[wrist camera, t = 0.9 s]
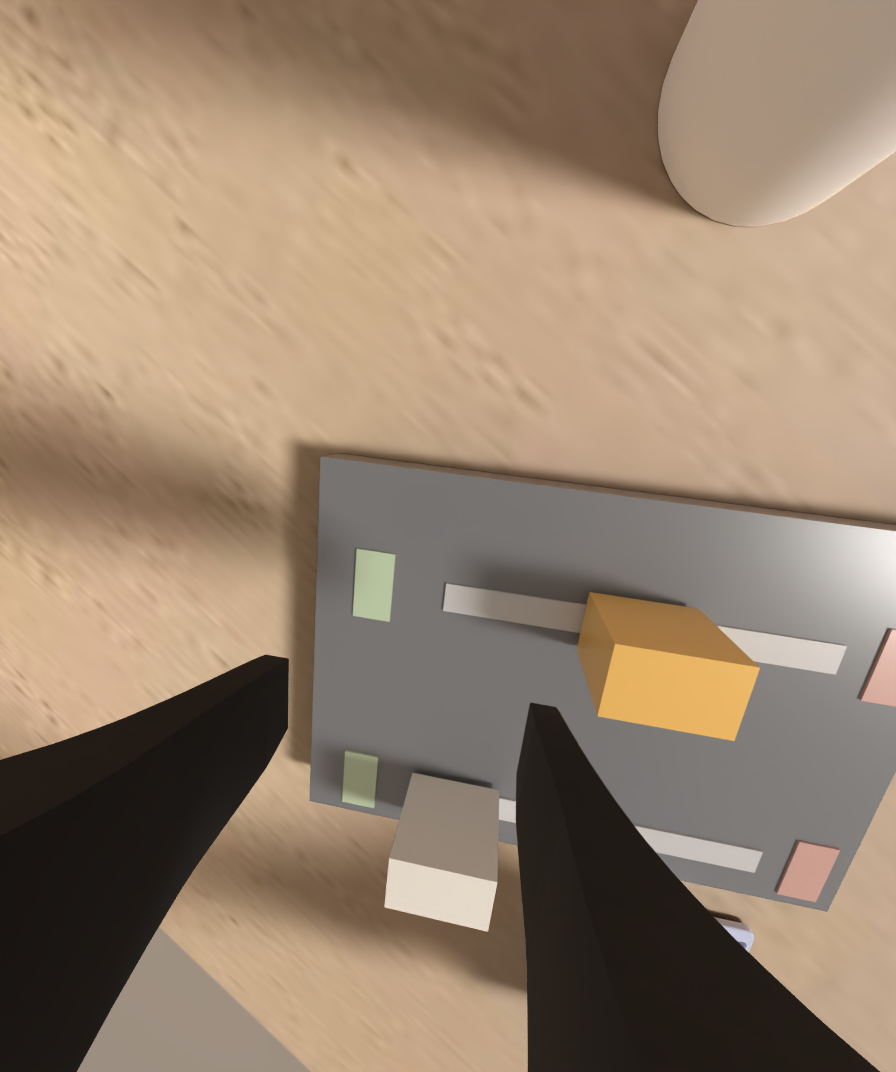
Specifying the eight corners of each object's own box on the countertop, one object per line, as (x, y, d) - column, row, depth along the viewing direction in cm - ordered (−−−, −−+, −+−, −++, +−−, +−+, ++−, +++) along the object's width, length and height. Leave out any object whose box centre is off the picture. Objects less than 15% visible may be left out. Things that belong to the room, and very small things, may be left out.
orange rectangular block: (681, 667, 16) (734, 741, 13) (576, 649, 17) (597, 716, 13) (698, 608, 16) (760, 667, 12) (589, 591, 16) (614, 643, 12)
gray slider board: (797, 866, 21) (829, 914, 19) (326, 769, 23) (308, 802, 21) (945, 531, 16) (1008, 546, 14) (339, 453, 18) (319, 456, 16)
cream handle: (491, 832, 20) (488, 931, 16) (407, 815, 20) (384, 907, 16) (499, 790, 19) (497, 882, 15) (412, 772, 19) (389, 858, 16)
